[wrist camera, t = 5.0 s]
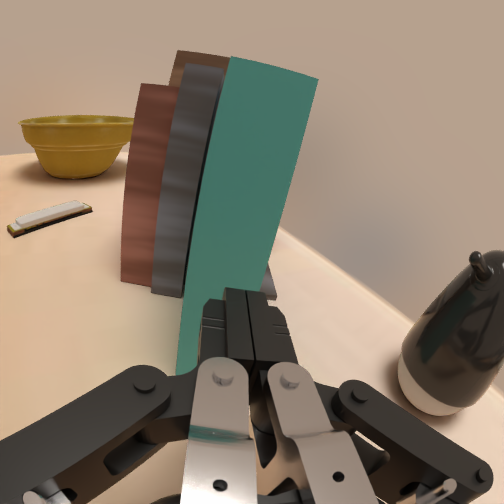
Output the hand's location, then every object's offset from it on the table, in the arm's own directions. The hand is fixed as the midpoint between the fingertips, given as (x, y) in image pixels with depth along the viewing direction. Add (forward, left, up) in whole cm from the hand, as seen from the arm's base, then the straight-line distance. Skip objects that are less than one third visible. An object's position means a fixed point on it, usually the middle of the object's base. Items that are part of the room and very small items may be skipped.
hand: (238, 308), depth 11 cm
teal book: (-6, +10, -11) cm, 16 cm away
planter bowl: (-58, +30, -11) cm, 66 cm away
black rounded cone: (+16, +13, -11) cm, 23 cm away
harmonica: (-35, +10, -11) cm, 38 cm away
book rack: (-11, +18, -10) cm, 24 cm away
